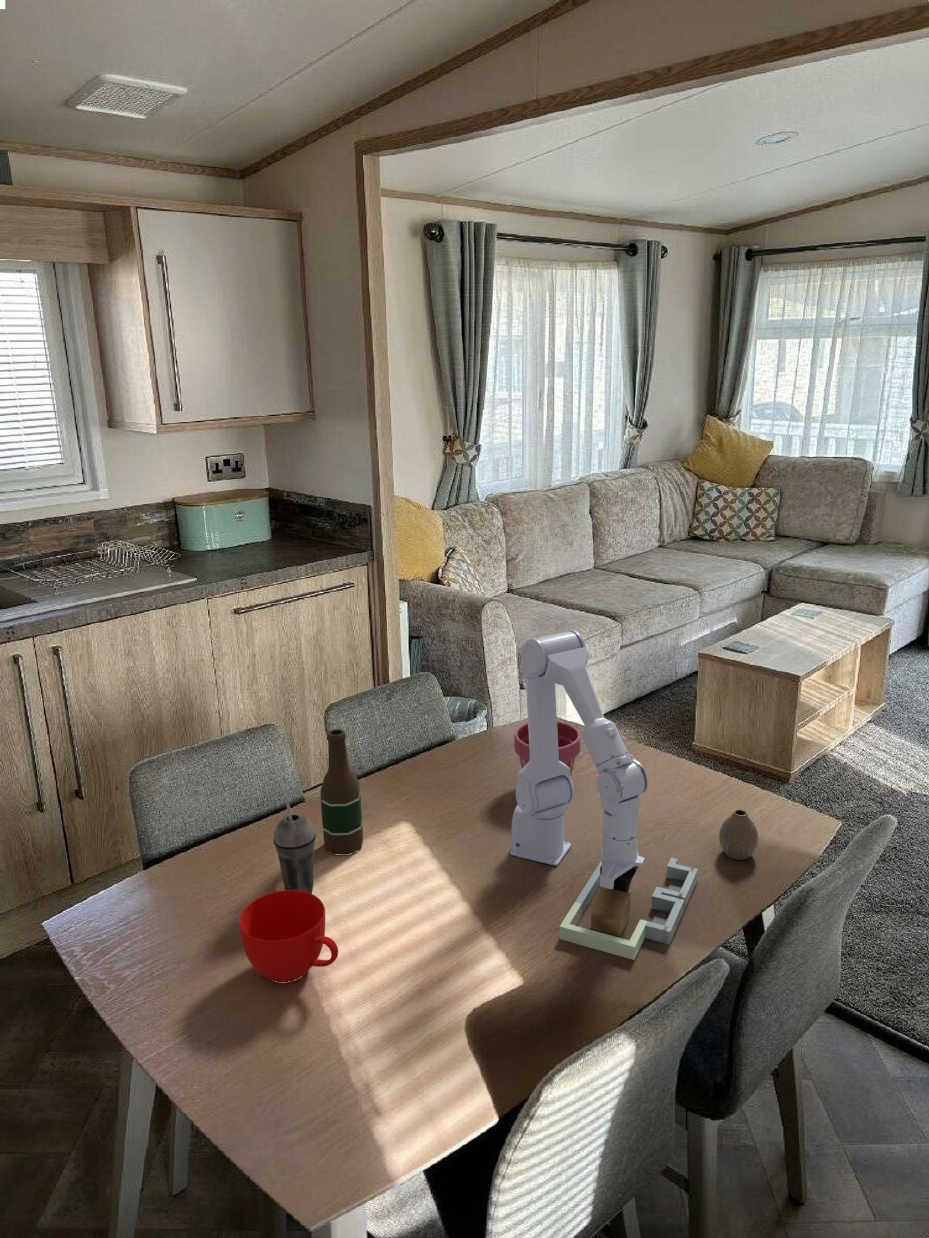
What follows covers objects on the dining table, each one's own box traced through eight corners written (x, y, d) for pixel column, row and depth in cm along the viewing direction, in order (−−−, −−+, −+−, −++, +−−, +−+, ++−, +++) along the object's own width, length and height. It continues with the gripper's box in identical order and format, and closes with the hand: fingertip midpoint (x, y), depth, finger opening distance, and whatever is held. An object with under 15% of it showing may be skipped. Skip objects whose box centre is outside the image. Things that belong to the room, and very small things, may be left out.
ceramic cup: (310, 1019, 130) (305, 961, 127) (226, 979, 139) (220, 923, 136) (366, 967, 141) (362, 913, 138) (285, 933, 149) (280, 880, 146)
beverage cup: (328, 889, 161) (320, 788, 155) (305, 911, 155) (296, 807, 149) (294, 879, 164) (285, 780, 158) (270, 901, 158) (260, 799, 152)
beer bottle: (316, 852, 173) (306, 737, 166) (336, 832, 180) (328, 721, 172) (352, 859, 170) (344, 743, 163) (371, 839, 177) (364, 726, 170)
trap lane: (559, 938, 146) (559, 926, 146) (611, 855, 169) (611, 843, 169) (659, 967, 139) (660, 954, 138) (699, 875, 162) (700, 864, 162)
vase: (758, 866, 165) (762, 823, 162) (719, 862, 166) (722, 820, 164) (754, 845, 171) (758, 804, 169) (717, 842, 173) (719, 801, 170)
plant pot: (583, 803, 188) (584, 747, 185) (515, 804, 189) (515, 748, 185) (576, 771, 202) (576, 718, 198) (513, 772, 202) (512, 719, 199)
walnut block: (590, 927, 149) (591, 901, 147) (601, 911, 153) (601, 885, 151) (620, 936, 147) (620, 909, 145) (629, 919, 151) (630, 893, 149)
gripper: (631, 859, 141) (629, 933, 145) (656, 816, 153) (653, 885, 157) (588, 849, 144) (587, 922, 148) (615, 807, 156) (613, 876, 160)
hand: (618, 902), depth 153 cm, fingers closed
